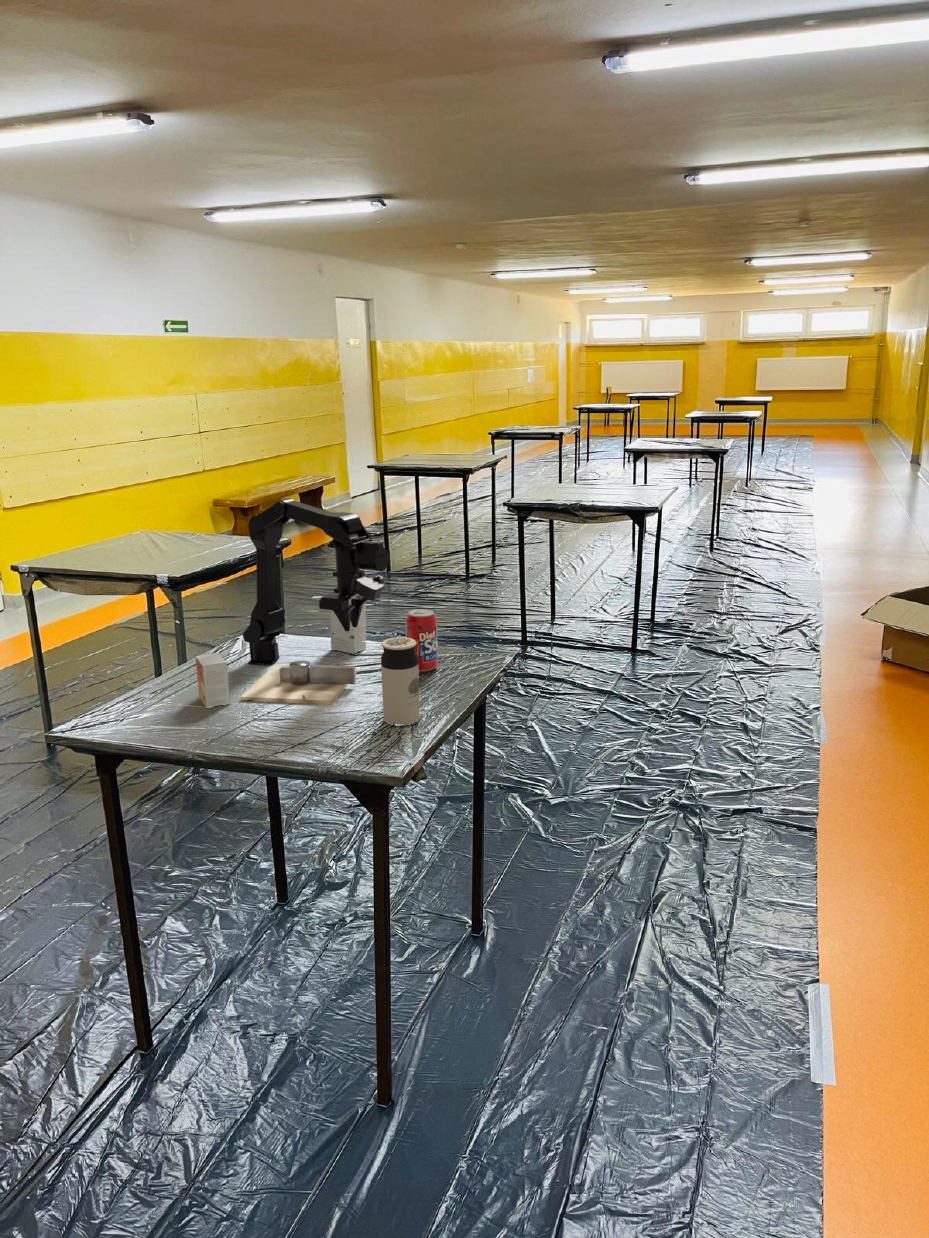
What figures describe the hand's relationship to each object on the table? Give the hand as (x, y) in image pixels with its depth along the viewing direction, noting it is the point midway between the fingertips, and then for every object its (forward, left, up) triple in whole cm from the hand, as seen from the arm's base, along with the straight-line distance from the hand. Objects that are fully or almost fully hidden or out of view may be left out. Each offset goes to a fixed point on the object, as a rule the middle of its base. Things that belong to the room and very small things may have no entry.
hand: (351, 629), depth 213 cm
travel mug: (+18, -24, -13) cm, 33 cm away
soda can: (+16, +10, -13) cm, 23 cm away
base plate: (-11, -6, -13) cm, 18 cm away
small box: (-28, -18, -13) cm, 36 cm away
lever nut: (-7, -6, -12) cm, 15 cm away
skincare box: (-7, +23, -13) cm, 28 cm away
